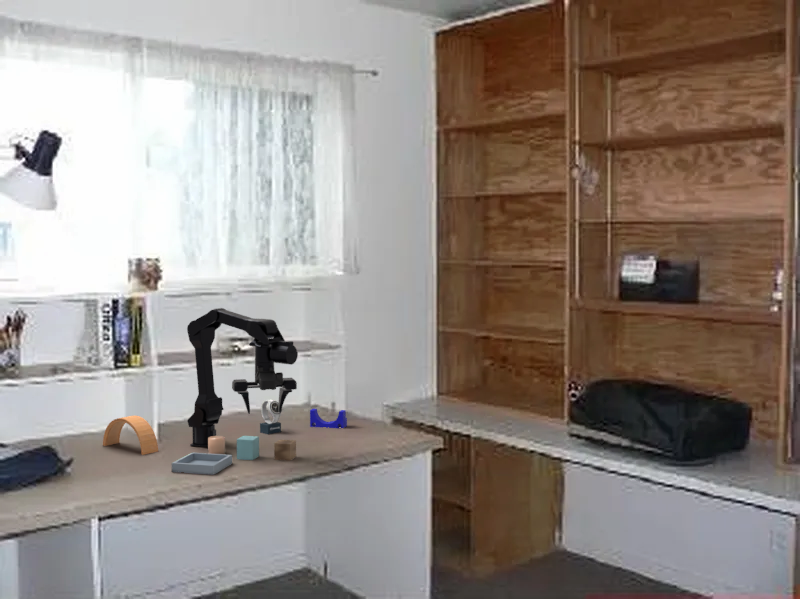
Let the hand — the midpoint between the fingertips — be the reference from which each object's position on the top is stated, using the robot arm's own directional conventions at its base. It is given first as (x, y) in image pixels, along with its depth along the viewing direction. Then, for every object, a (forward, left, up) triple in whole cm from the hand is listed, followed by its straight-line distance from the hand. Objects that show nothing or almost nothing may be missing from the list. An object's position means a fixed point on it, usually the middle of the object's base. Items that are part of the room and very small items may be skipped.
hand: (264, 412), depth 263 cm
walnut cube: (+8, -3, -13) cm, 15 cm away
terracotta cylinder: (-14, -3, -13) cm, 19 cm away
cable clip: (+7, +43, -13) cm, 45 cm away
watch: (-9, +29, -13) cm, 33 cm away
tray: (-11, -19, -13) cm, 25 cm away
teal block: (-3, -5, -13) cm, 14 cm away
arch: (-43, -3, -13) cm, 45 cm away
